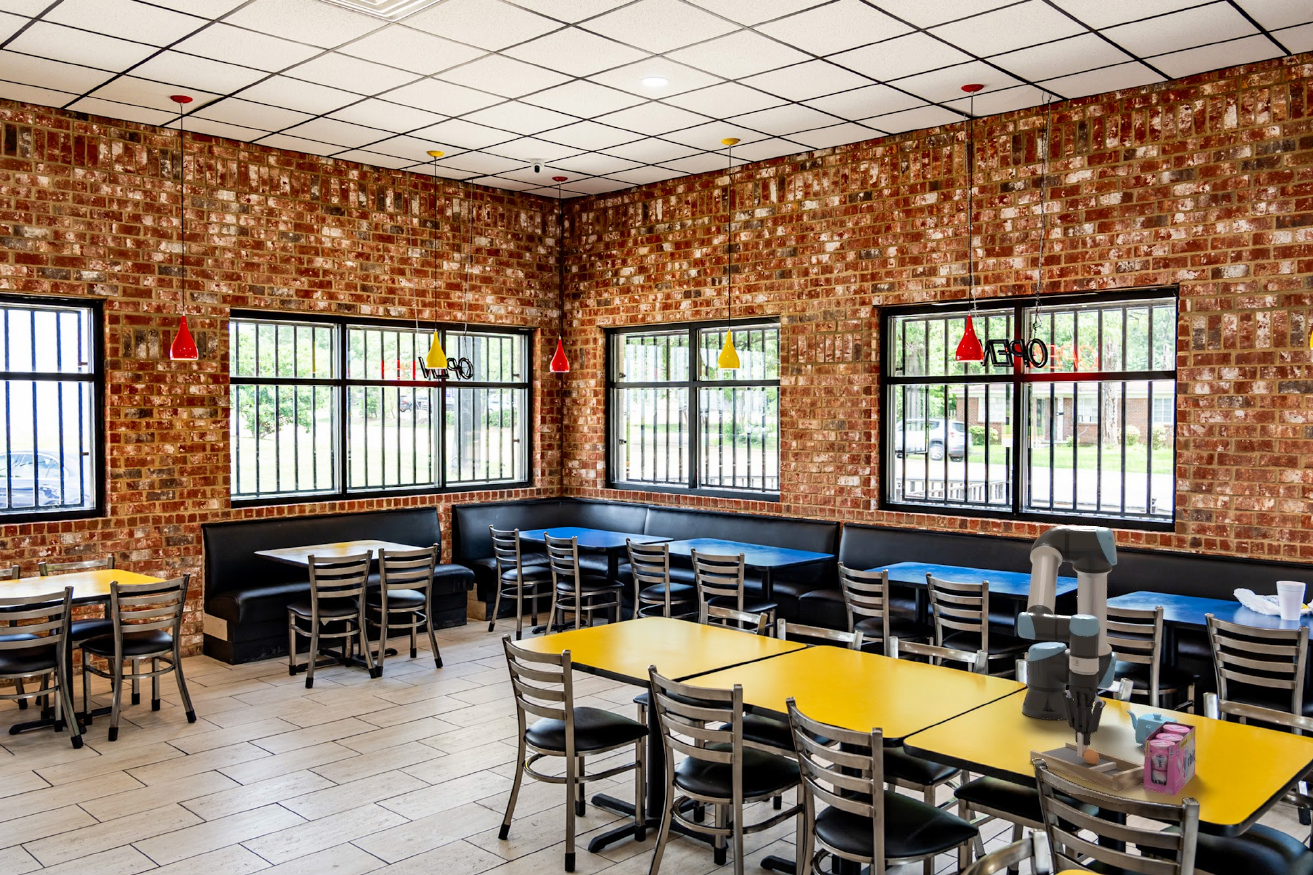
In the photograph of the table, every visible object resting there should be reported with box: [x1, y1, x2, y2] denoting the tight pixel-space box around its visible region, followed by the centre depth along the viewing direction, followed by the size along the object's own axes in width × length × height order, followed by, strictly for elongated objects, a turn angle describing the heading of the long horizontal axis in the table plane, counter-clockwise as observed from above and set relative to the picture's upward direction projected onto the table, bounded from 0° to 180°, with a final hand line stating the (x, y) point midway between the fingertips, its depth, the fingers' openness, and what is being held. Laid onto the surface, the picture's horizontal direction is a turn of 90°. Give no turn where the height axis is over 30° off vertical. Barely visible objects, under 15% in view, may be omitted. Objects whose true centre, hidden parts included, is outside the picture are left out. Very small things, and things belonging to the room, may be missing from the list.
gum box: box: [1142, 721, 1196, 797], centre depth 274 cm, size 24×8×14 cm, turn 140°
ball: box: [1084, 749, 1099, 765], centre depth 282 cm, size 4×4×4 cm
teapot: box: [1125, 710, 1178, 749], centre depth 302 cm, size 18×14×10 cm
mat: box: [1040, 746, 1124, 776], centre depth 283 cm, size 14×26×2 cm, turn 31°
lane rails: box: [1029, 741, 1144, 792], centre depth 282 cm, size 16×27×4 cm, turn 31°
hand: (1082, 755), depth 284 cm, fingers closed
